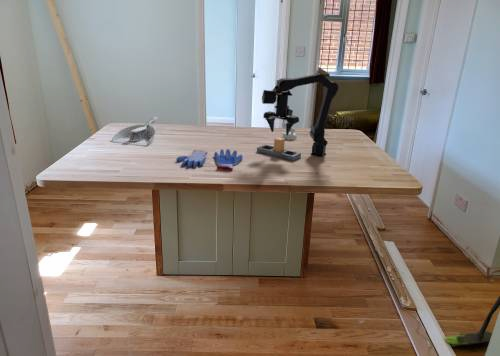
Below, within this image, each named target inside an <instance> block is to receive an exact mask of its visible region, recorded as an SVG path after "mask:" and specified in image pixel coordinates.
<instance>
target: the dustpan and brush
mask: <svg viewBox="0 0 500 356" xmlns="http://www.w3.org/2000/svg"><path fill="white" fill-rule="evenodd" d="M157 120H158V117H157V116H154V117H150V119H148V120H147V121H146V122H145V123H142V124H133V125H129V126H126V127H125V128H121V130H119V131H118V132H116V133H114V135H113V136H112V138H111V139H112V140H111V143H114V144H122V145H129V146H131V145H132V146H139V147H147V146H148V145H151V144H152V143H153V142H154V140H155V135H156V131H157V130H156V127H154V126H153V124H155V123H156V122H157ZM128 138H129V140H128V141H126V139H128ZM148 138H150V139H149V140H148V141H147V142H140V141H146V140H147V139H148Z"/></svg>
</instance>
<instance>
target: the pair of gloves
mask: <svg viewBox="0 0 500 356" xmlns="http://www.w3.org/2000/svg"><path fill="white" fill-rule="evenodd" d="M219 150H220V151H219V153H220V154H219V153H218V152H217V151H214V160H215V163H216V165H217V166H216V169H217V170H220V171H228V172H229V171H233V169H234V168H233V167H234V166H237V164H239V163H241V162H242V160H243V154H239V155H238V156H237V154H238V151H237V150H234V151H232V153H231V150H230V149H228V148H227V149H226V151H225V150H224V149H219ZM207 154H208V151H207V150H197V149H194V150H193V151H192V153H191V154H189V155H179V156H178V157H176V163H181V168H185V167H186V169H188V170H189V169H191V168H192V169H197V167H198V166H199V168H203V167H204V164H205V162H206V159H207V158H206V155H207Z"/></svg>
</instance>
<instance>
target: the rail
mask: <svg viewBox="0 0 500 356" xmlns="http://www.w3.org/2000/svg"><path fill="white" fill-rule="evenodd" d="M256 152H257V153H259V154H260V153H261V154H263V155H267V156H271V157H275V158H279V159H282V160H286V161H290V162H295V161H297V160H299V159H301V157H302V156H301V155H302V153H301V152H297V151H293V150H291V149H285V148H284V151H283V152H281V153H280V152H276V151H274V145H273V146H272V145H269V144H263V145H260V146H258V147H256Z"/></svg>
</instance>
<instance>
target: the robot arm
mask: <svg viewBox="0 0 500 356" xmlns="http://www.w3.org/2000/svg"><path fill="white" fill-rule="evenodd" d="M315 83H318V84H319V85H320V86H322V87H323V89H322V96H323V97H322V101H321V104H320V108H319V111H318V112H319V113H318V114H317V115H318V116H317V119H316V123H315V124H314V125H311V126H310V131H309V135H310V138H311V139H312V141H313V144H312V145H311V146H312V147H311V152H310V154H311V155H313V156H317V157H319V158H320V157H324V156H325V155H327V153H326V148H327V146H328V143H329V142H328V141H327V139H326V138H325V133H326V132H325V130H326V129H325V125H326V122H327V119H328V118H327V117H328V115H329V111H330V108H331V104H332V100H333V99H334V98H335V97H336V95H337V93H338V91H339V85H338V83H337V82H334V81H332V80H330V79H328V78H327V77H325V76H324V75H323V74H321V73H320V72H319V73H315V74H310V75H304V76H301V77H300V76H299V77H294V78H289V77H287V78H286V77H285V78H284V77H282V78H279V79H278V81H277V83H276V85H275V86H274V88H273V89H272V90H267V89H263V92H262V96H261V103H262V104H267V105H274V104H275V103H276V105H275V106H274V108H275V112H274V111H266V112H264V113H263V118H264V119H265V121H267V122H266V123H267V124H268V126H269V129H270V131H271V133H273V132H274V131H275V129H274V128H275V120H276V119H277V120H279V119H280V120H284V121H286V128H285V132H286V135H288V134H289V132H290V130H291V127H293V126H294V125H295V124H297V123H299V122H300V118H299V116H296V115H293V111H294V110H293V109H290V108H289V107H290V106H289V105H288V103H289V101H288V100H289V96H290V97H291V96H293V94H292V92H291V91H290V90H293V89H295V88H296V87H297V88H298V87H301V86H305V85H311V84H315Z"/></svg>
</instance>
